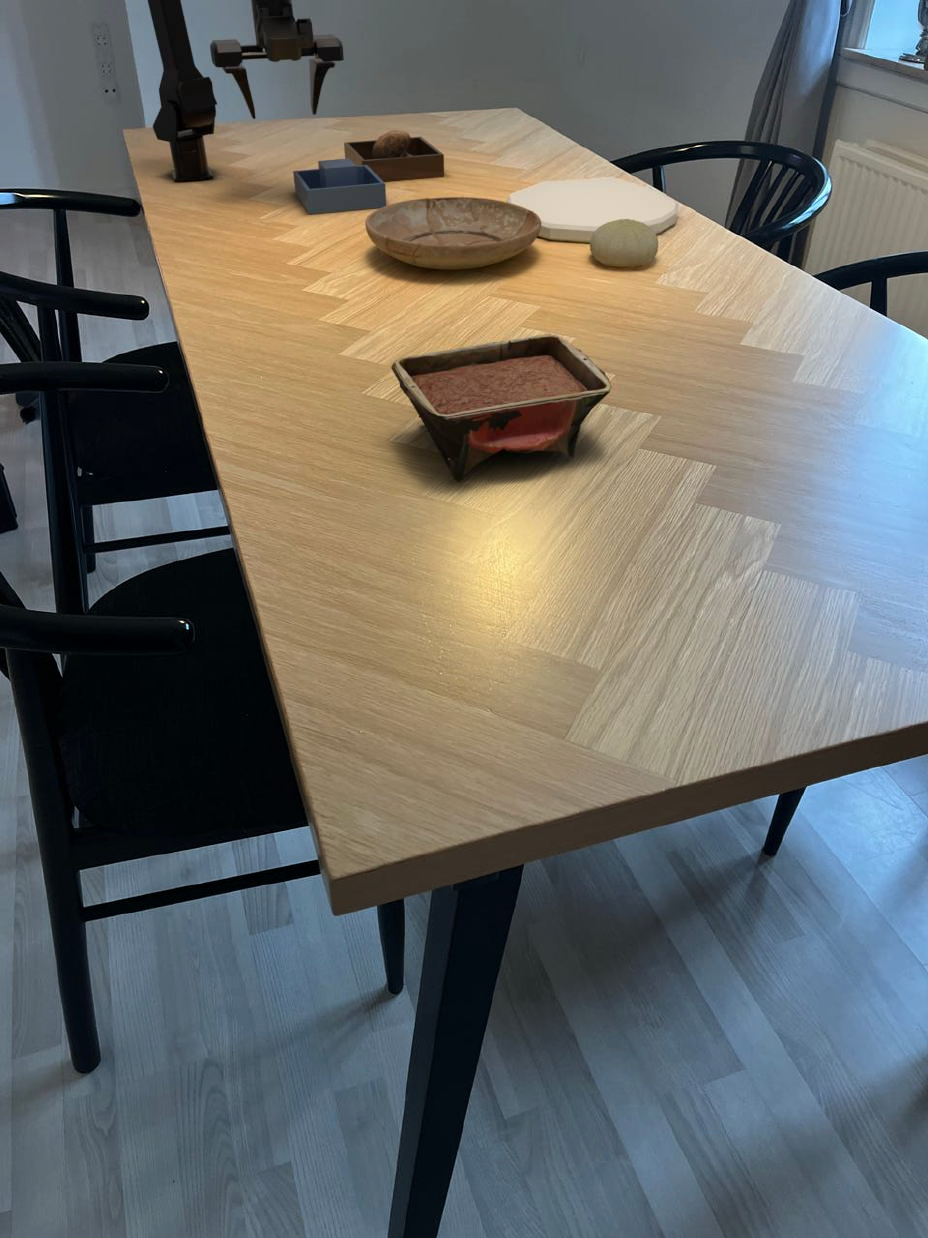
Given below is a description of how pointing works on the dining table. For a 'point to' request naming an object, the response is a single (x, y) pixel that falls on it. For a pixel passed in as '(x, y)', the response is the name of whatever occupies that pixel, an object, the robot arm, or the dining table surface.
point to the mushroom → (391, 145)
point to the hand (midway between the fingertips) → (284, 116)
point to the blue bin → (340, 192)
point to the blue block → (337, 173)
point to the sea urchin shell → (624, 243)
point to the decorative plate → (593, 206)
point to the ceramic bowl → (452, 231)
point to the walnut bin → (399, 160)
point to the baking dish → (502, 397)
